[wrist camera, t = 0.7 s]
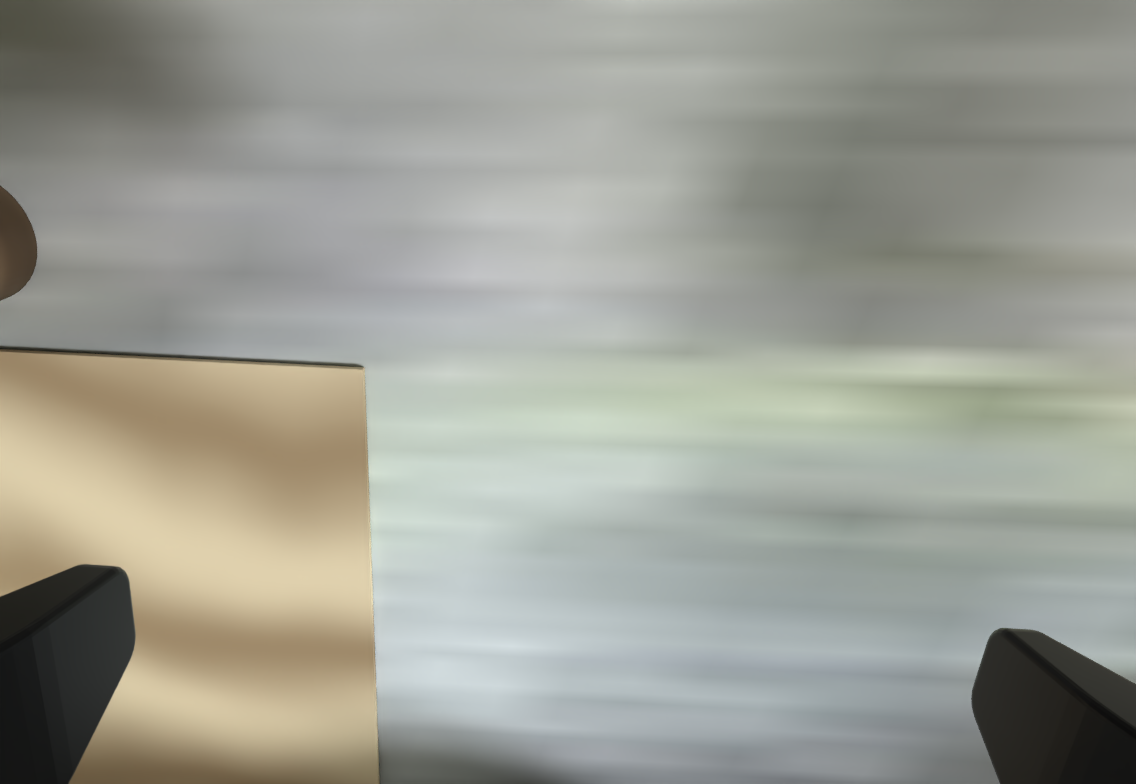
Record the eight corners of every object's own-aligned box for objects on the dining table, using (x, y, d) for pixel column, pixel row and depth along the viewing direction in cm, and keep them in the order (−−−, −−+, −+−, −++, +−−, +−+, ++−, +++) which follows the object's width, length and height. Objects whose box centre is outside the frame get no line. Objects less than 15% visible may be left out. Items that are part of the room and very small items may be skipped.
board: (380, 808, 27) (379, 814, 27) (-156, 788, 27) (-162, 794, 27) (364, 367, 22) (362, 370, 21) (-314, 333, 21) (-324, 336, 21)
